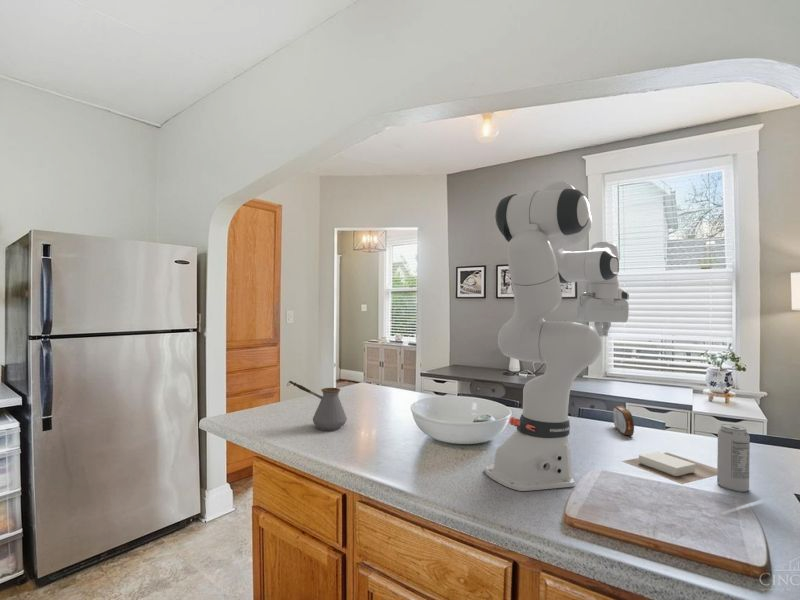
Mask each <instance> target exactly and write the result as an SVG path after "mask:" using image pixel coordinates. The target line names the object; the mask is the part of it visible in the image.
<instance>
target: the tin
mask: <svg viewBox="0 0 800 600" xmlns="http://www.w3.org/2000/svg"><path fill="white" fill-rule="evenodd" d="M612 412H613V413H612V414H613V415H612V416H613V417H612V419H613V424H614V427H615V429H616V430H617V431H619V432H620V433H621V434H622V435H623V436H630V435H631V436H630V437H632V436H633V435H634V432H635V431H634V430H635V423H634V417H633V415H632V413H631V411H630V410H628V409H627V408H626V407H624V406H623V405H617V406H613V409H612Z"/></svg>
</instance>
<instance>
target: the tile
mask: <svg viewBox="0 0 800 600" xmlns="http://www.w3.org/2000/svg"><path fill="white" fill-rule="evenodd" d="M663 453H664V452H660V451H653V452H648V453H643V454H639V455H638V458H639V463H641V464H643V465H646V466H648V467H651V468H654V469H657V470H659V471H662V472H665V473H667V474H670V475H673V476H680V475H684V474H689V473H693V472H695V464H694V463H691V462H688V461H685V460H682V459H679V458H675V457H672V456H669V455H666V454H663Z"/></svg>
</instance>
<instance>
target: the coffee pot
mask: <svg viewBox="0 0 800 600" xmlns="http://www.w3.org/2000/svg"><path fill="white" fill-rule="evenodd" d="M290 385H293V386H294V387H297V388H298V389H299V390H302V391H304V392H306V393H308V394H311V395H313V396H315V397H317V398H318V399H320V402H319V404H318V406H317V408H316V410H315V412H314V415H313V417H312V423H313V424H314V425H315V426H316V427H317V428H318V429H319V430H322V431H328V432H329V431H338V430H340V429H341V428H342V427H343V426H344V425H346V422H347V420H348V417H347V415H346V412H345V409H344V407H343V404H342V402H341V399H340V398H339V393H340V391H341V388H338V387H324V388H323V387H322V388H321V389H320V391H321V392H322V395H320V394H318V393H316V392H314V391H312V390H310V389H308V388H307V387H305V386H303V385H301V384H298V383H297V382H294V381H292V380H289V381H288V382H287V384H286V386H287V387H289V386H290Z"/></svg>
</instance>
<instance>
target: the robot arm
mask: <svg viewBox="0 0 800 600" xmlns="http://www.w3.org/2000/svg"><path fill="white" fill-rule="evenodd" d="M495 209H496V210H495V216H494V217H495V224H496V227H497V228H498V230H499V232H500V233H501V235H502V236H503V237H504V239H505V240H506V242H507V243H508V244H507V245H508V246H507V263H508V272H509V276H510V277H509V278H510V283H511V286H512V295H513V300H514V301H513V302H514V309H513V314H512V316H511V317H510V318H509V320H508V321H506V322H505V323H504V324H503V325H502V326H501V327H500V329H499V331H498V334H497V343H498V348H499V350H500V352H501V354H503V356H505V357H507V358H511V359H515V360H517V361H522V362H529V363H538V364H546V365H545V366H546V367H545V371H544V373H543V374H541V375H537V376H535V377H532V378H531V379H529V380H527V381H526V383H525V384H524V385H523V386H524V387H523V389H522V394H523V395H522V413H521V415H520V417H519V418H516V417H514V416H512V417H510V418H509V425H511V426H513V427H515V428H516V430H515V431H514V432H513V433H512V434H511V435H509V437H508V438H507V439H505V440H504V442H503V443H501V444H500V445H499V446H498V447H497V448H496V452H495V454H494V463H491V464H489V465H486V466H485V467H484V473H485V474H486V476H488V477H489V478H490V479H492V480H494V481H495V482H497V483H498V484H500V485H502V486H505V487H506V488H509V489H512V490H516V491H519V492H528V491H540V490H551V489H560V488H572V487H575V485H576V483H575V479H574V477H575V476H574V473H573V468H572V467H573V466H572V456H571V448H570V444H569V443H570V442H569V435H570V434H571V433H570V430H571V426H570V425H571V423H570V419H569V404H570V403H569V402H570V395H571V389H572V386H573V383H574V382H575V379H576V378H577V377H578V375H580V374H581V372H582V371H583V370H584V369H586V368H587V367H589V366H590V365H592V364H594V362H596V360H597V359H598V358H599V356H600V354H601V350H602V339H601V337H608V336H609V335H608V334H609V330H610V328H611V326H612V325H611V324H612V323H627V322H628V320H629V313H630V311H629V309H630V308H629V307H630V306H629V302H628V301H629V299H630V294H629V293H628V292H626V290H625V291H624V290H623V289H622V288H620V287H619V286H620V285H619V279H618V275H619V273H620V257H619V250H618V247H617V245H616V244H615V243H612V242H608V241H600V242H599V241H598V242H595V243H592V245H591V247H590V250H582V251H567V250H564V248H565V247H569V246H573V245H576V244H578V243H579V242H581V241H582V240H584V238H586V237H587V236H588V234H589V232H590V231H591V228H592V224H593V219H592V215H591V211H590V210H591V209H590V202H589V199H588V197H587V195H586V194H585V193H584V192H582V190H580V189H576V188H575V187H574V186H573V185H571V184H570V183H569V182H567V181H564V180H563V181H562V180H557V181H553V182H550V183H548V184H546V185H545V186H544V187H543V188H542V189H538V190H531V191H527V192H522V193H514V194H511V195H507V196H505V197H503V198H502V199H500V201H499V203H498V205H497V206H496V208H495ZM586 282H587V283H588V287H587V289H588V290H587V292H582V293H581V295H579V297H578V298H579V299H578V303H577V308H576V319H577V322H574V321H558V320H557V321H556V320H545V319H544V317H546V316H547V315H550V314H551V313H553V312H555V311H556V309H558V307H560V305H561V302H562V300H563V294H562V287H561V286H562V285H561V284H569V283H586ZM579 322H580V323H579ZM581 322H586V323H594V324H593V325H594V327H595V328H594V327H593V326H592V325H588V324H583V323H581Z"/></svg>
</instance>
